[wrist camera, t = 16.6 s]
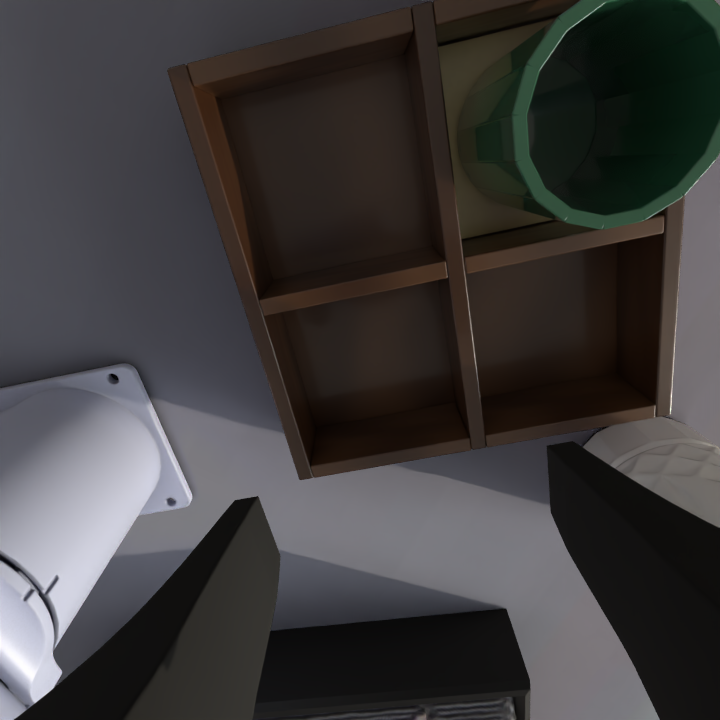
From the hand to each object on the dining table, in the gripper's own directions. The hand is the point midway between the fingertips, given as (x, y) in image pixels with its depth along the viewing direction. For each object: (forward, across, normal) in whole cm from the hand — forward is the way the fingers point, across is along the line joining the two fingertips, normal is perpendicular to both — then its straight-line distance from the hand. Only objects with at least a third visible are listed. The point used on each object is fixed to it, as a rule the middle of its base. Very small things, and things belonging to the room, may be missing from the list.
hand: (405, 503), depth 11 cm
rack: (+10, -3, -4) cm, 11 cm away
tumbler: (+9, -6, -8) cm, 14 cm away
